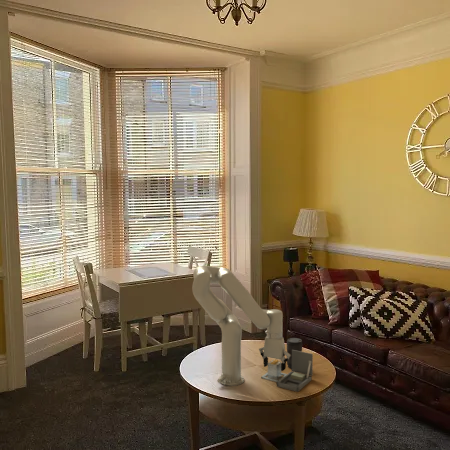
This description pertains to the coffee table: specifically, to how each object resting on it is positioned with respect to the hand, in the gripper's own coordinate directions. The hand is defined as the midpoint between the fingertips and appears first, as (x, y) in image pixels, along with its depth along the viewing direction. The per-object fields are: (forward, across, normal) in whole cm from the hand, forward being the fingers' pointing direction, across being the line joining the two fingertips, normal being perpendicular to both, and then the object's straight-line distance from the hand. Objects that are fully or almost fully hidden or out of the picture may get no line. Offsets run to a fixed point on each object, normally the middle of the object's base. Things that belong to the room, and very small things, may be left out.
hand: (274, 368), depth 243 cm
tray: (+5, 0, 0) cm, 5 cm away
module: (+5, 0, 0) cm, 5 cm away
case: (+5, +12, -1) cm, 13 cm away
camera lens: (+5, +3, +18) cm, 19 cm away
